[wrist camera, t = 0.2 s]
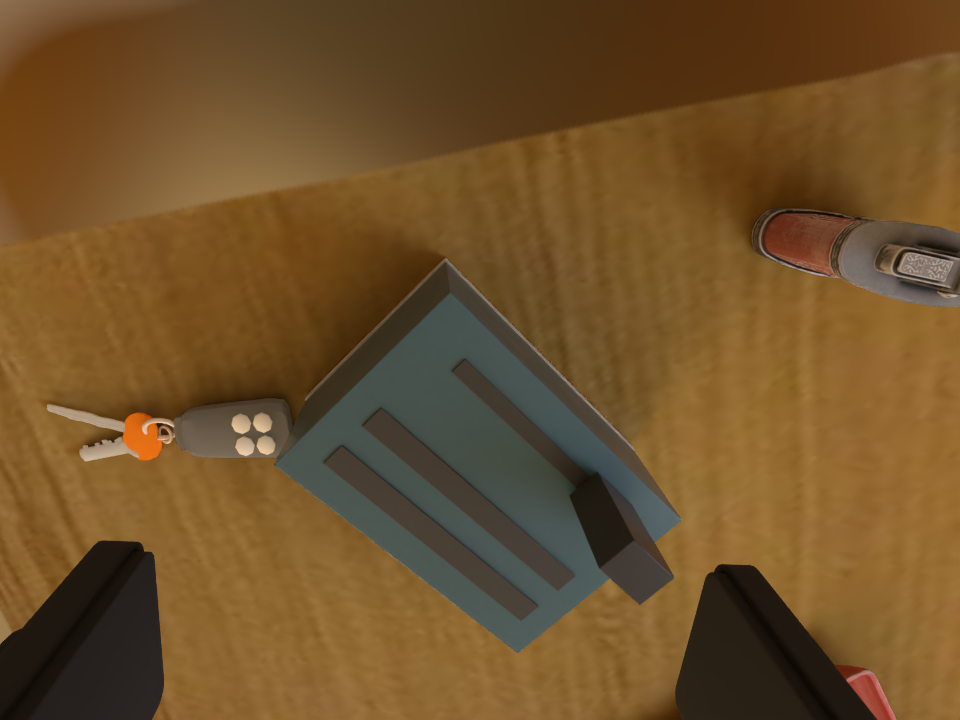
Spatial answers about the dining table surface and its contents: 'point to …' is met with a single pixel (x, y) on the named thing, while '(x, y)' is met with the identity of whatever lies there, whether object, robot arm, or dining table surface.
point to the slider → (619, 539)
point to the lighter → (865, 253)
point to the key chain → (196, 431)
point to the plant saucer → (868, 690)
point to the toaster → (467, 458)
